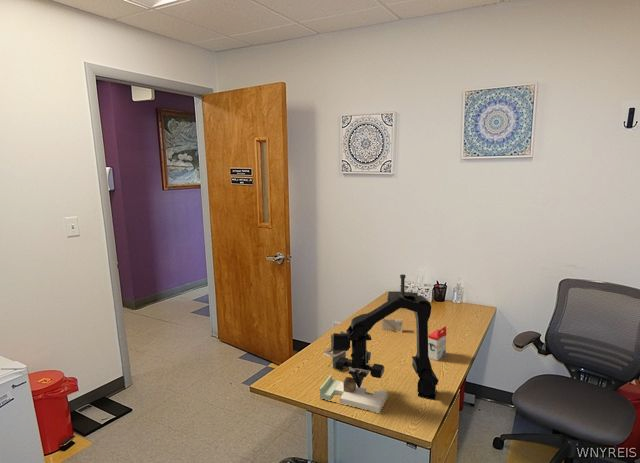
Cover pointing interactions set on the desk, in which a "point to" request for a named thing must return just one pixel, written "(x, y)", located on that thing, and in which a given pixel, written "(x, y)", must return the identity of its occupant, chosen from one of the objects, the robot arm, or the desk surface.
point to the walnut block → (349, 385)
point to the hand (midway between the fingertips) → (359, 387)
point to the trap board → (353, 395)
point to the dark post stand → (393, 294)
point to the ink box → (437, 344)
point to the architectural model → (334, 353)
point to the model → (392, 324)
